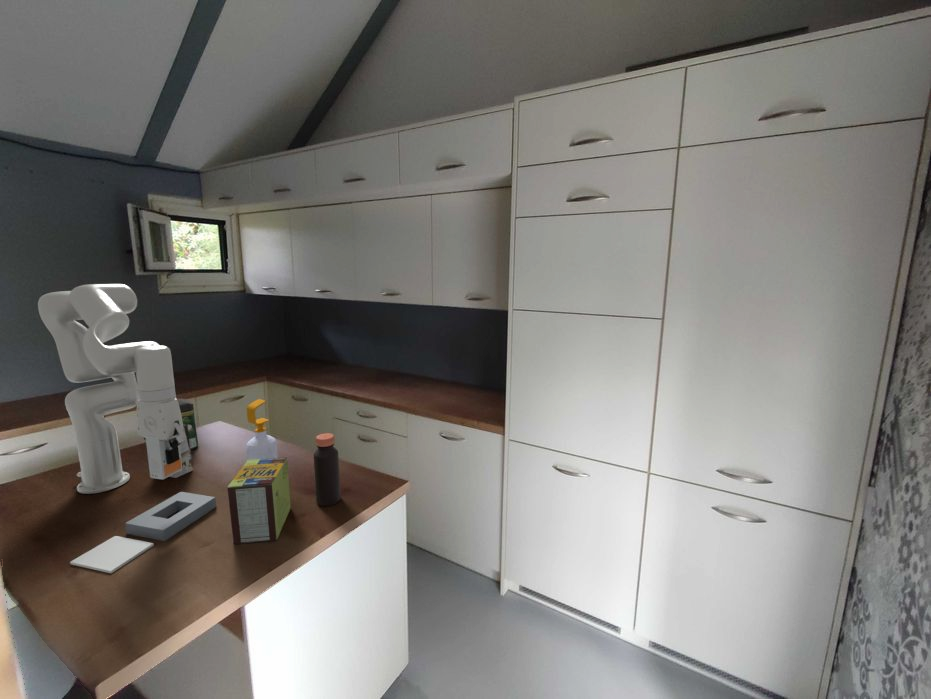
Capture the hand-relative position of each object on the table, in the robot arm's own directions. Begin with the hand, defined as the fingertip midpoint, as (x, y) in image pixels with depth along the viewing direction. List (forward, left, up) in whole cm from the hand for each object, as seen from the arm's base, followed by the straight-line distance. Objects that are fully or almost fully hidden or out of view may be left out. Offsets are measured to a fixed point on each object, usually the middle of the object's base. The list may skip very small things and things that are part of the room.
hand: (165, 460), depth 111 cm
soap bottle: (+4, +30, -17) cm, 35 cm away
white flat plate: (-1, -15, -17) cm, 23 cm away
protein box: (+25, +4, -17) cm, 31 cm away
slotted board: (0, 0, -17) cm, 17 cm away
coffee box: (-24, +22, -17) cm, 36 cm away
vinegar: (+35, +19, -17) cm, 44 cm away
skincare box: (0, 0, -4) cm, 4 cm away
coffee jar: (-38, +39, -17) cm, 57 cm away
